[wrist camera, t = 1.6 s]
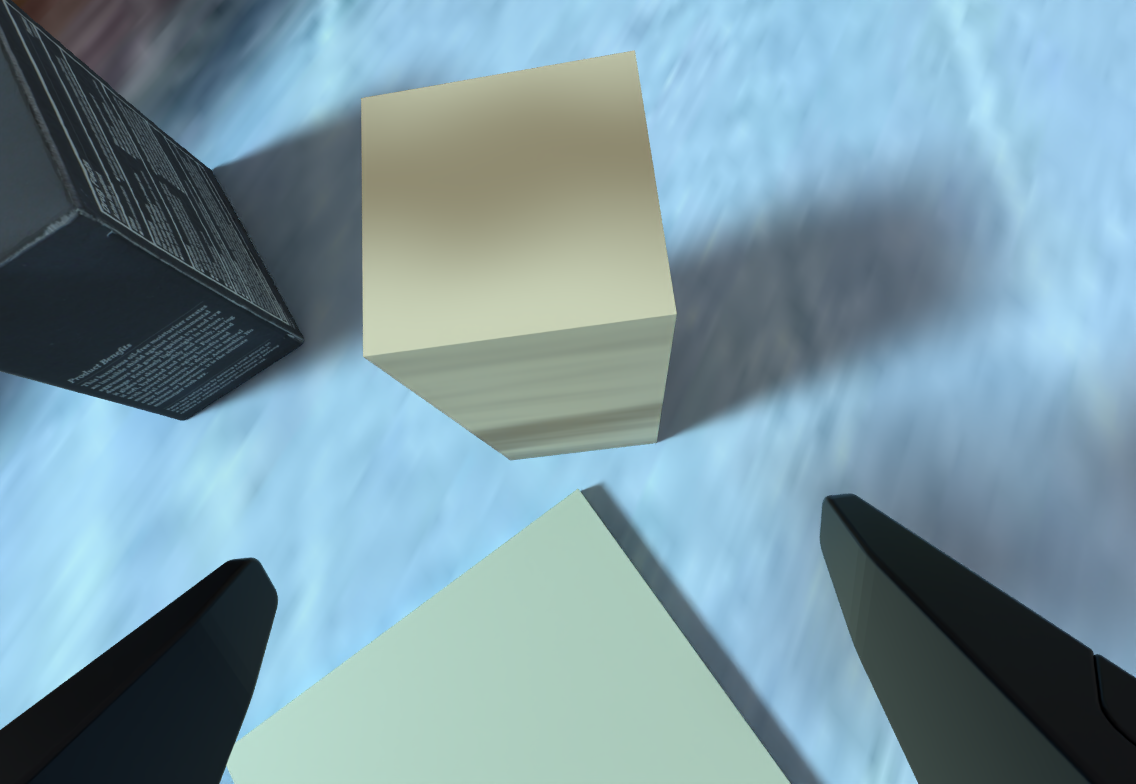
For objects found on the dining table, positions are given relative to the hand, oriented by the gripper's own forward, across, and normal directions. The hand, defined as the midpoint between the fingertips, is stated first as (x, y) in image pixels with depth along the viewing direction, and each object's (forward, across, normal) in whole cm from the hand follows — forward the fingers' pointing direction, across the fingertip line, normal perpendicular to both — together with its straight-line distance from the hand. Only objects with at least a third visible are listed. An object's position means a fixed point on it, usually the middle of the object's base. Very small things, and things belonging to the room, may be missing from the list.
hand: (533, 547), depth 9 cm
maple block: (+13, 0, +4) cm, 14 cm away
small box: (+18, +16, 0) cm, 24 cm away
